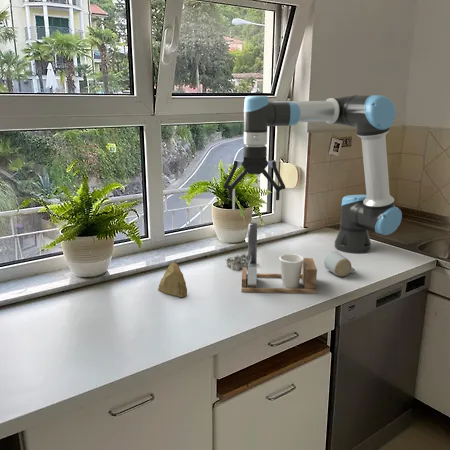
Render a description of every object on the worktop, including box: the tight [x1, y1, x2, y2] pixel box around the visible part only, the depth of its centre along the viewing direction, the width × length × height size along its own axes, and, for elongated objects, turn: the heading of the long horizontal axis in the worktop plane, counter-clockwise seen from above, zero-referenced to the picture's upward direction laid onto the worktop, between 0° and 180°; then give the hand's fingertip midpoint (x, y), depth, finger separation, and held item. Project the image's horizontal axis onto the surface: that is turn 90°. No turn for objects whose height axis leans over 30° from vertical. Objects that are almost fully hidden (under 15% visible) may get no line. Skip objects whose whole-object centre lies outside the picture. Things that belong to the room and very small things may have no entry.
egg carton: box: [224, 252, 248, 271], centre depth 180 cm, size 11×8×4 cm
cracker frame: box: [241, 257, 318, 294], centre depth 161 cm, size 25×14×8 cm, turn 87°
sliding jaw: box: [247, 222, 258, 288], centre depth 159 cm, size 3×10×22 cm, turn 177°
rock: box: [157, 261, 188, 298], centre depth 154 cm, size 11×9×10 cm
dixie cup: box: [278, 253, 305, 289], centre depth 160 cm, size 8×8×10 cm
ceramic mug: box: [323, 250, 356, 278], centre depth 171 cm, size 11×8×8 cm
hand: (253, 209), depth 155 cm, fingers open, 13 cm apart
